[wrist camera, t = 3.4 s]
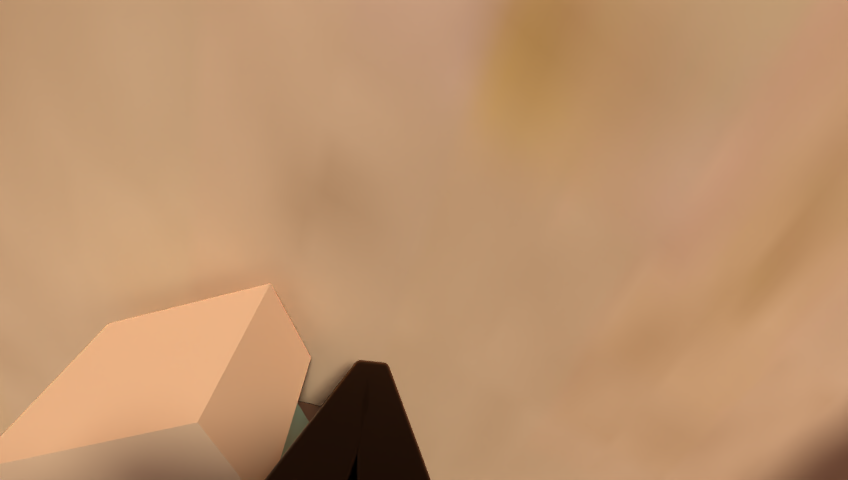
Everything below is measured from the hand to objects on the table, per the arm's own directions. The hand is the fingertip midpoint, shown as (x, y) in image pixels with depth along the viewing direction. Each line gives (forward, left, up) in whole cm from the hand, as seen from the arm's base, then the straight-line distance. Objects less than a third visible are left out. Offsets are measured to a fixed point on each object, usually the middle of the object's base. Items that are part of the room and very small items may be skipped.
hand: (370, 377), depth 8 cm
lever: (0, +8, -2) cm, 8 cm away
